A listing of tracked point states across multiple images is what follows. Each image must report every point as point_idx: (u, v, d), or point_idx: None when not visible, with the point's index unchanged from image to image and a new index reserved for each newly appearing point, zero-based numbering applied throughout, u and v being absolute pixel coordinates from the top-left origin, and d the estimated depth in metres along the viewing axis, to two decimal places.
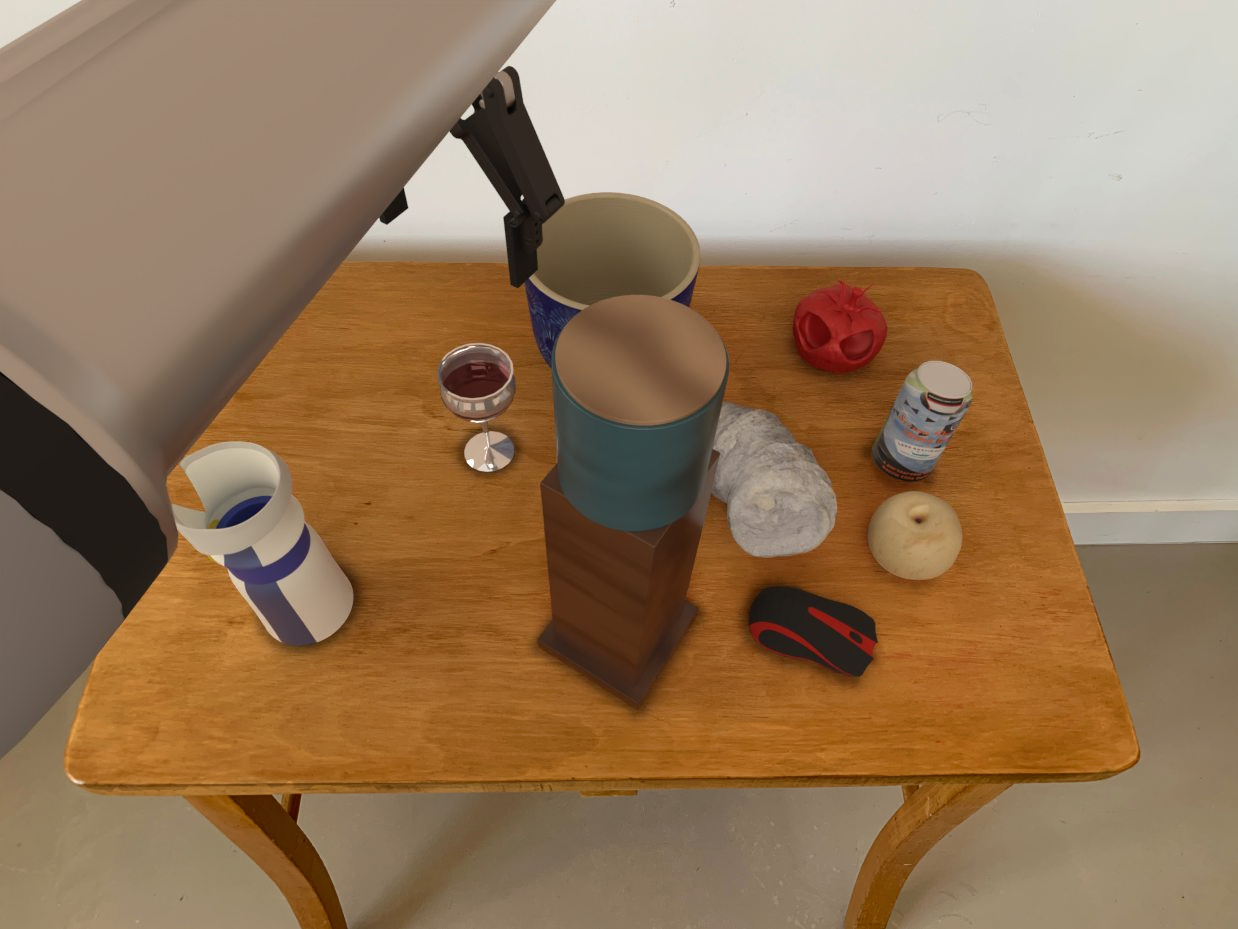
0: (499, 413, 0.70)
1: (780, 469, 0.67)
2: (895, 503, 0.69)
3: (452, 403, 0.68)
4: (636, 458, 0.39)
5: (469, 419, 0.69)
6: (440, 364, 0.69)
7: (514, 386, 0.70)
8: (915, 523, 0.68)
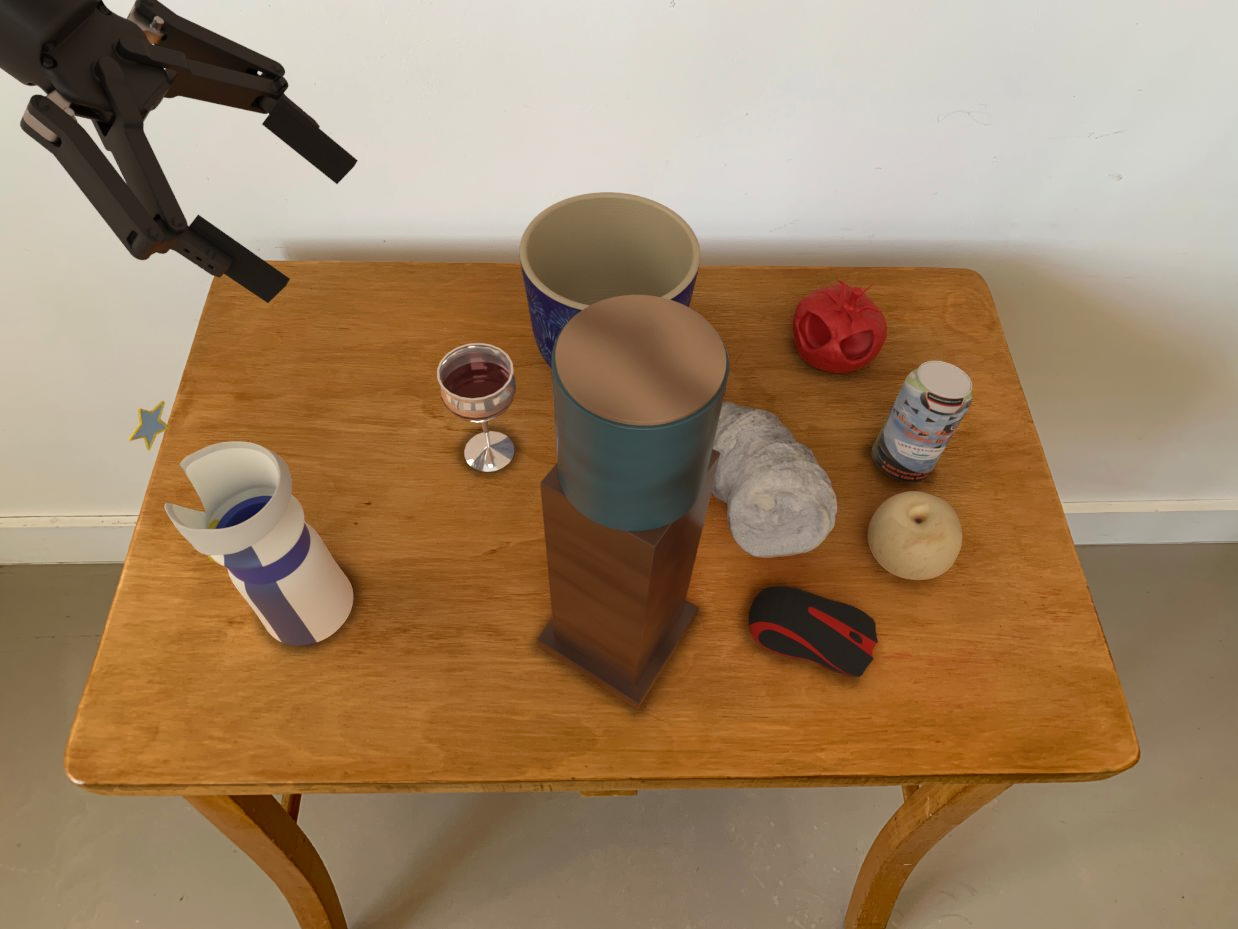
0: (499, 413, 0.70)
1: (780, 469, 0.67)
2: (895, 503, 0.69)
3: (452, 403, 0.68)
4: (636, 458, 0.39)
5: (469, 419, 0.69)
6: (440, 364, 0.69)
7: (514, 386, 0.70)
8: (915, 523, 0.68)
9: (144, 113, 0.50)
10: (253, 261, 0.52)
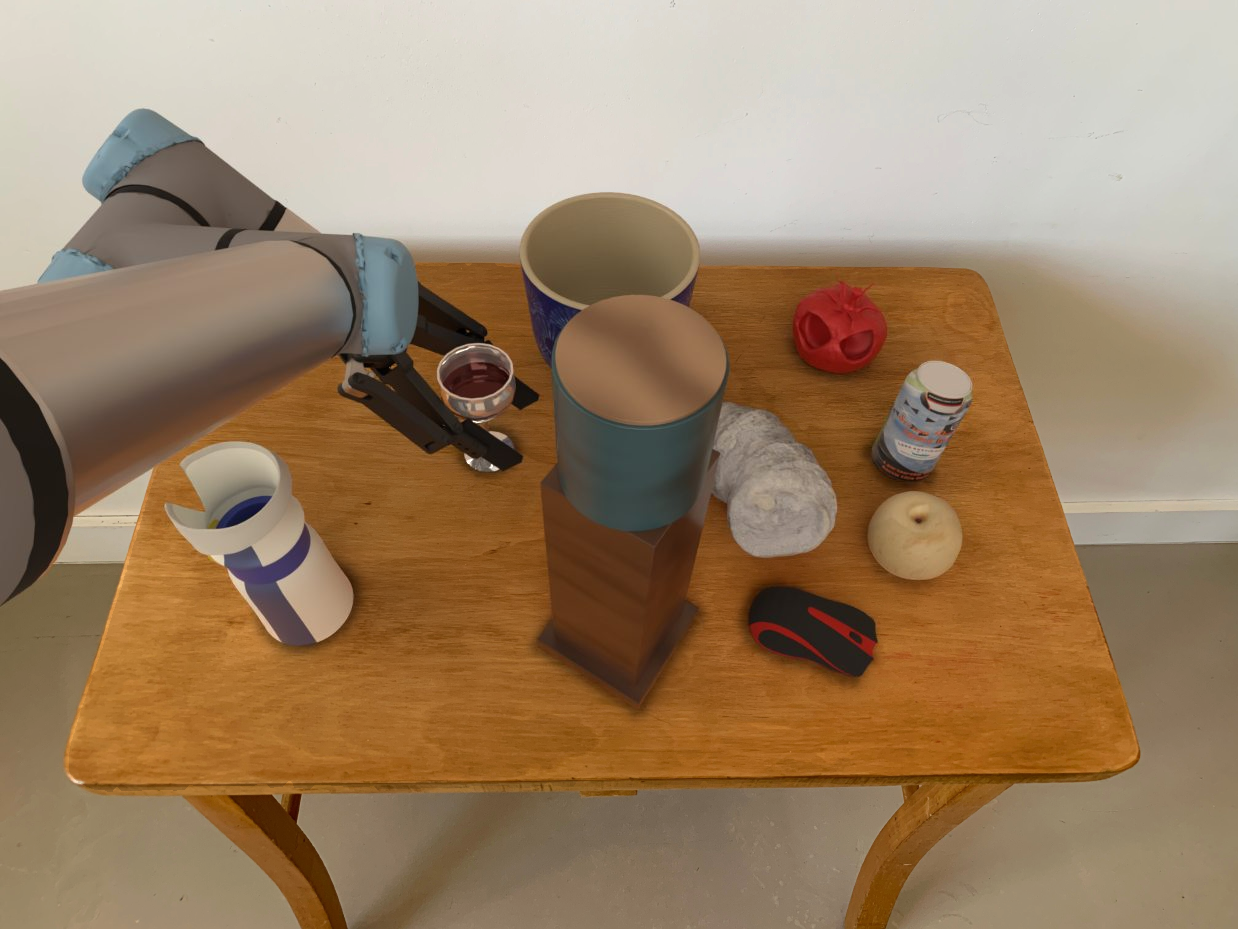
0: (499, 413, 0.70)
1: (780, 469, 0.67)
2: (895, 503, 0.69)
3: (452, 403, 0.68)
4: (636, 458, 0.39)
5: None
6: (440, 364, 0.69)
7: (514, 386, 0.70)
8: (915, 523, 0.68)
9: None
10: (501, 447, 0.71)
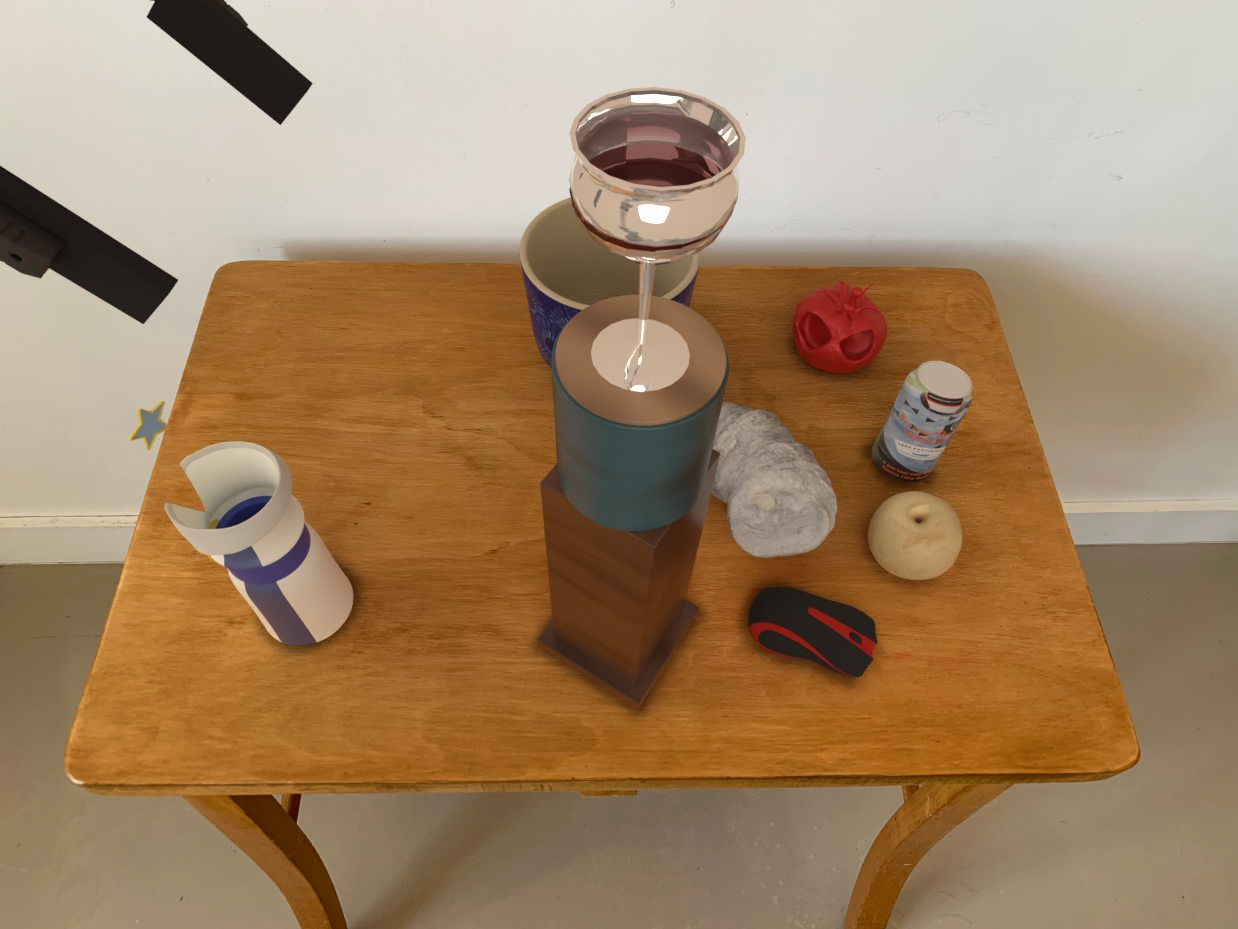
0: (707, 240, 0.31)
1: (780, 469, 0.67)
2: (895, 503, 0.69)
3: (607, 208, 0.29)
4: (636, 458, 0.39)
5: (641, 251, 0.30)
6: (576, 122, 0.30)
7: (738, 181, 0.31)
8: (915, 523, 0.68)
9: None
10: (103, 247, 0.28)
